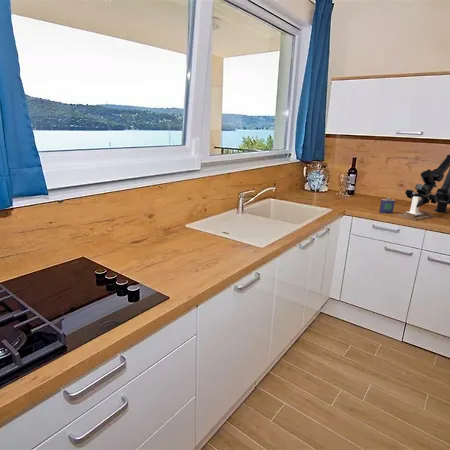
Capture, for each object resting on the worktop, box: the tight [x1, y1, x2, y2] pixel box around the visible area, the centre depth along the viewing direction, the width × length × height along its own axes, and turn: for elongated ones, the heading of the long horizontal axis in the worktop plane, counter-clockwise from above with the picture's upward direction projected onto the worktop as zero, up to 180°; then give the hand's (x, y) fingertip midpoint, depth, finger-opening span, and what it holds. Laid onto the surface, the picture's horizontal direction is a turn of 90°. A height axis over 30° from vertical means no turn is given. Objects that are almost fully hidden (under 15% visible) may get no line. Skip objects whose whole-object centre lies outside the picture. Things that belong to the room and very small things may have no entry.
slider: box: [406, 196, 422, 216], centre depth 211 cm, size 6×6×11 cm
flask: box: [378, 196, 396, 215], centre depth 219 cm, size 9×3×11 cm, turn 95°
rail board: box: [397, 209, 435, 221], centre depth 214 cm, size 20×12×3 cm, turn 121°
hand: (413, 206), depth 210 cm, fingers closed on slider, 3 cm apart
